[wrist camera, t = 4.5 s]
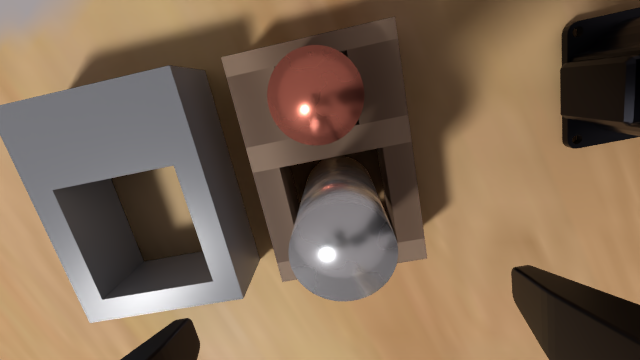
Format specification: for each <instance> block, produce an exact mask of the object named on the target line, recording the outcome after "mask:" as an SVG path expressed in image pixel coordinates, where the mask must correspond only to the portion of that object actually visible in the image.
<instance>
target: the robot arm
mask: <svg viewBox="0 0 640 360" xmlns="http://www.w3.org/2000/svg"><path fill="white" fill-rule="evenodd" d="M574 28H575V29H577V35H576V36H575V37H574V36H573V34H572V33H573V30H574ZM560 83H561V115H562V140H563V144H564V145H565V146H567V147H570V148H582V147H587V146H593V145H598V144H603V143H609V142H614V141H620V140H625V139H630V138H636V137H640V8H635V9H631V10H626V11H622V12H617V13H613V14H608V15H604V16H599V17H595V18H590V19H586V20H581V21H577V22H573V23H570V24H568V25H567V26H566V27H565V28H564V30H563V32H562V68H561V70H560ZM574 136H577V139H576V141H575V142H572V139H573V137H574ZM511 276H512V293H513V298H514V301H515V303H516V305H517V307H518V309H519V310H520V312H521V314H522V315H523V317H524V319H525V320H526V322H527V324H528V325H529V327H530V329H531V330H532V332H533V334H534V336H535V337H536V339H537V341H538V342H539V344H540V346H541V347H542V349H543V351H544V352H545V354H546V355H547V357H548V359H549V360H640V305H638V304H636V303H633V302H630V301H627V300H625V299H622V298H619V297H616V296H613V295H611V294H608V293H605V292H602V291H600V290H597V289H594V288H591V287H589V286H586V285H583V284H580V283H577V282H575V281H572V280H569V279H566V278H564V277H561V276H558V275H555V274H553V273H550V272H547V271H544V270H541V269H539V268H536V267H533V266H530V265H525V266H519V267H514V268H513V269H512V272H511ZM199 350H200V341H199V338H198V336H197V333H196V330H195V328H194V325H193V322H192V321H191V319H189V318H185V319H179V320H175V321H173V322H172V323H170V324H169V325H168V326H166V327H165V328H164V329H162V330H161V331H159V332H158V333H157V334H155V335H154V336H152V337H151V338H150V339H148V340H147V341H146V342H144V343H143V344H141V345H140V346H139V347H137V348H136V349H134V350H133V351H132V352H130V353H129V354H128V355H126V356H125V357H123V358H122V359H121V360H197V357H198V354H199Z"/></svg>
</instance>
